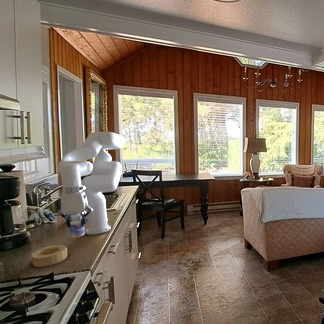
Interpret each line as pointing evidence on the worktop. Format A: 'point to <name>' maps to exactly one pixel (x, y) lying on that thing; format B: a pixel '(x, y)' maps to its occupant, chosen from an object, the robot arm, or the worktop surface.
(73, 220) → the pill bottle
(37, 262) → the tape roll
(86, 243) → the worktop surface
